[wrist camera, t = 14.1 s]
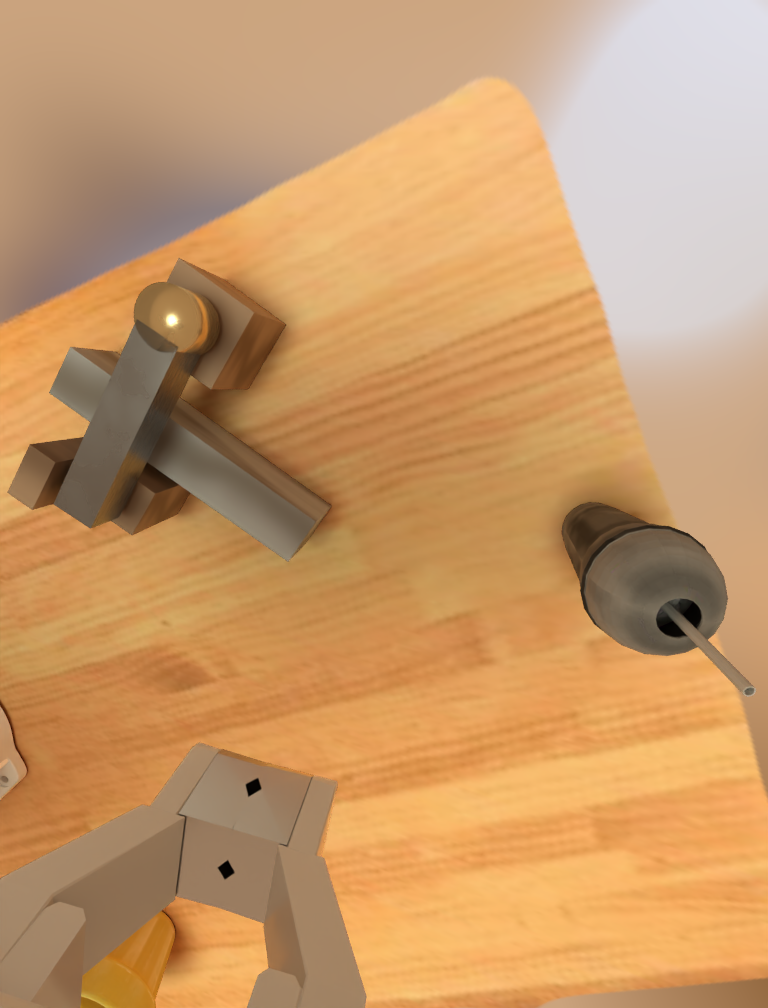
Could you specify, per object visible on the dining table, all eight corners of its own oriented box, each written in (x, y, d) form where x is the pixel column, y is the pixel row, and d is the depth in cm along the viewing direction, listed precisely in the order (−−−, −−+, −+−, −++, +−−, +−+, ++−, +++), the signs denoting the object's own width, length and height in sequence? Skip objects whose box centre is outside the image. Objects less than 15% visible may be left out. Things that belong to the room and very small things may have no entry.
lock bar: (178, 279, 32) (150, 268, 29) (229, 313, 32) (207, 306, 29) (79, 491, 36) (47, 500, 33) (125, 521, 36) (96, 532, 33)
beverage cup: (599, 465, 38) (757, 547, 18) (660, 534, 38) (875, 684, 19) (524, 525, 39) (596, 658, 20) (583, 590, 40) (707, 779, 21)
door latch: (277, 584, 43) (224, 644, 33) (72, 440, 43) (-45, 456, 33) (400, 407, 38) (381, 414, 28) (170, 240, 38) (67, 187, 28)
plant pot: (93, 930, 57) (23, 1038, 48) (124, 874, 54) (55, 976, 45) (170, 974, 57) (115, 1090, 48) (204, 920, 54) (153, 1032, 45)
